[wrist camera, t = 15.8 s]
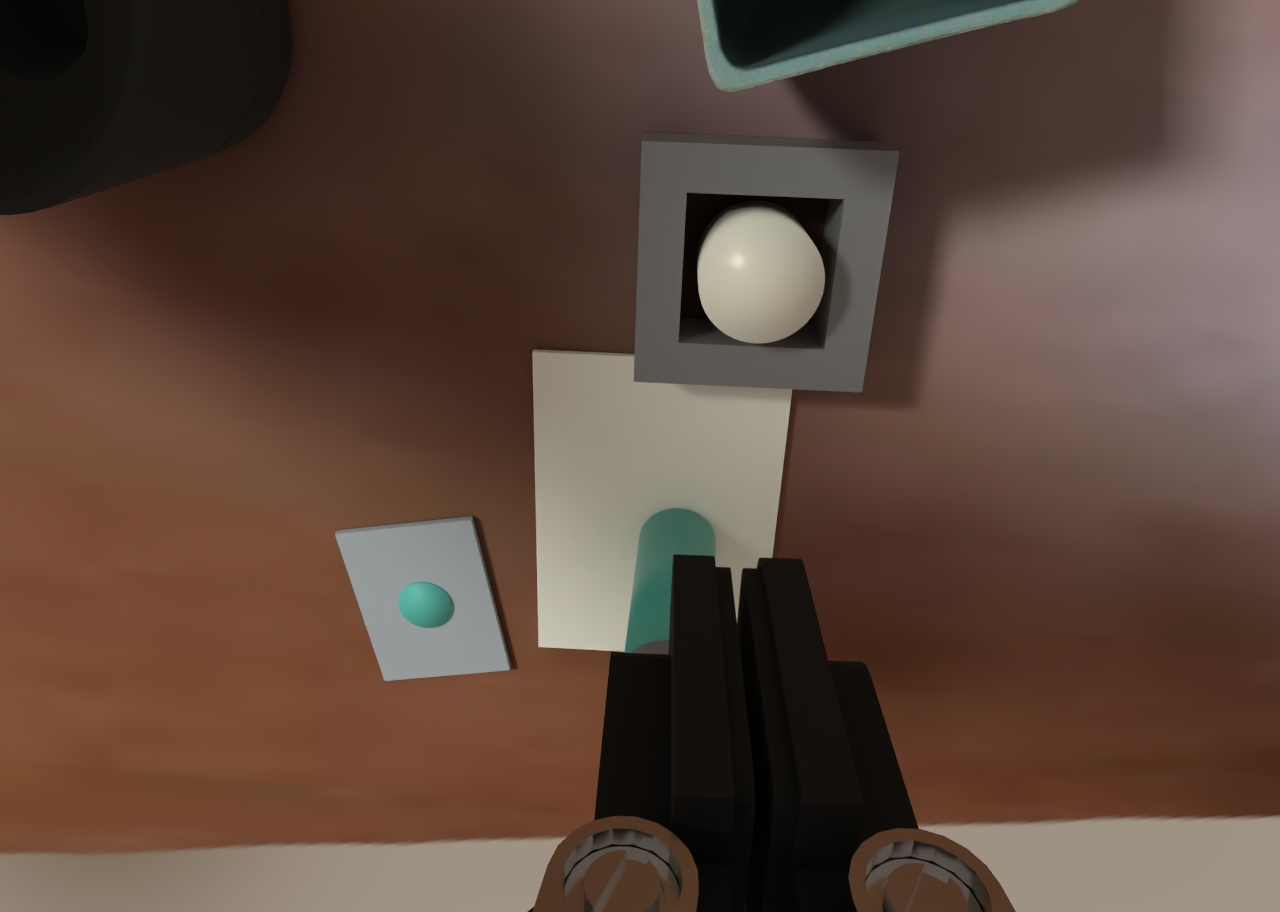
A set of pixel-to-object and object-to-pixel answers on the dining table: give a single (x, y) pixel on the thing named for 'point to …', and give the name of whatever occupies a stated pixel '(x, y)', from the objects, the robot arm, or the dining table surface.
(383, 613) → the card
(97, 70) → the pen holder
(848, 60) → the flower pot
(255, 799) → the dining table surface
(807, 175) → the button box
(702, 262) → the cream ball
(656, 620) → the marker
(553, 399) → the paper
